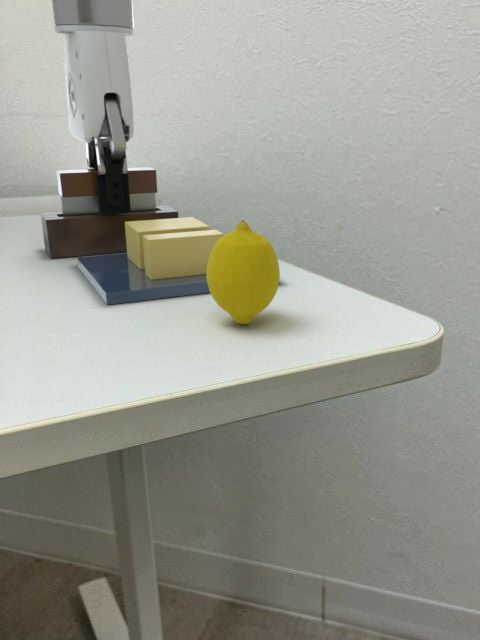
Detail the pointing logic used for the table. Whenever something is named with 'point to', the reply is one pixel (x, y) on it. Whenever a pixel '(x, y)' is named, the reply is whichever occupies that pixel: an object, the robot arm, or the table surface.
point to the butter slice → (178, 253)
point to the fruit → (243, 273)
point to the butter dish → (134, 280)
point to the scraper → (83, 196)
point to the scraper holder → (92, 231)
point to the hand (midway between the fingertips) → (110, 207)
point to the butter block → (152, 227)
